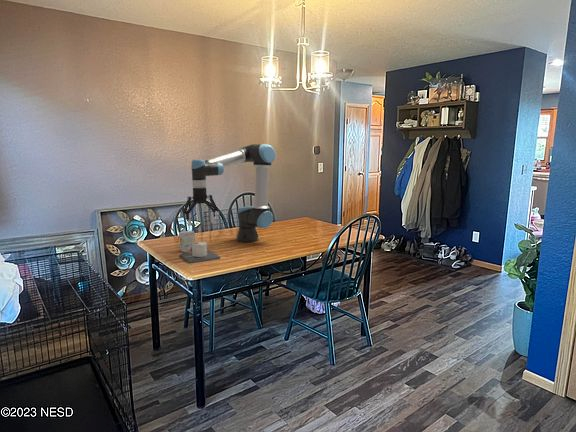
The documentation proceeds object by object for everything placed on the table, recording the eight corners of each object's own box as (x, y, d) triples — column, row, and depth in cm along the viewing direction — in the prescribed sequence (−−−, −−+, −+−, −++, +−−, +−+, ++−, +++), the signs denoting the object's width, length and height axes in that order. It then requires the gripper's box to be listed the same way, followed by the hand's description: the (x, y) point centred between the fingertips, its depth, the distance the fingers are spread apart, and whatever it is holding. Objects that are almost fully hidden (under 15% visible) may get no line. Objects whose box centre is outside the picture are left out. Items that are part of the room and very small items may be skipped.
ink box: (191, 248, 246) (190, 230, 244) (196, 249, 242) (195, 231, 240) (179, 250, 240) (178, 232, 238) (183, 252, 236) (183, 233, 234)
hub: (209, 251, 238) (208, 241, 237) (220, 258, 223) (220, 248, 222) (179, 255, 229) (179, 245, 228) (189, 263, 213) (188, 252, 212)
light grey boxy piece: (203, 252, 231) (203, 240, 230) (208, 255, 224) (208, 243, 223) (190, 254, 227) (190, 241, 226) (195, 257, 220) (195, 244, 219)
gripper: (217, 185, 231) (219, 220, 235) (175, 188, 218) (177, 225, 222) (222, 186, 225) (224, 222, 229) (179, 189, 212) (181, 227, 215)
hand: (201, 224), depth 225 cm, fingers open, 13 cm apart
